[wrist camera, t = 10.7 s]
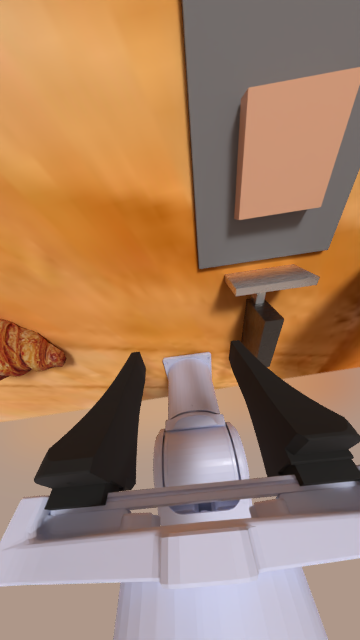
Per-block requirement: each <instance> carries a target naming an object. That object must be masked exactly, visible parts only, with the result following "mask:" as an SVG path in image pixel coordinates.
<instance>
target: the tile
mask: <svg viewBox="0 0 360 640" xmlns="http://www.w3.org/2000/svg"><path fill="white" fill-rule="evenodd" d="M359 85H360V67H357V68H351V69H346V70H341V71H335V72H330V73H325V74H319V75H314V76H309V77H303V78H298V79H293V80H287V81H282V82H276V83H271V84H266V85H260V86H255V87H250V88H248V89H247V91H246V92H245V94H244V95H243V97H242V98H241V106H240V124H239V141H238V159H237V176H236V194H235V211H234V219H236V220H243V219H249V218H256V217H262V216H268V215H274V214H281V213H287V212H293V211H300V210H306V209H312V208H319V207H321V205H322V202H323V199H324V196H325V192H326V189H327V186H328V183H329V180H330V177H331V173H332V170H333V167H334V164H335V161H336V158H337V155H338V151H339V148H340V145H341V142H342V139H343V136H344V132H345V129H346V126H347V123H348V120H349V117H350V114H351V110H352V107H353V104H354V101H355V98H356V95H357V92H358V88H359Z"/></svg>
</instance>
